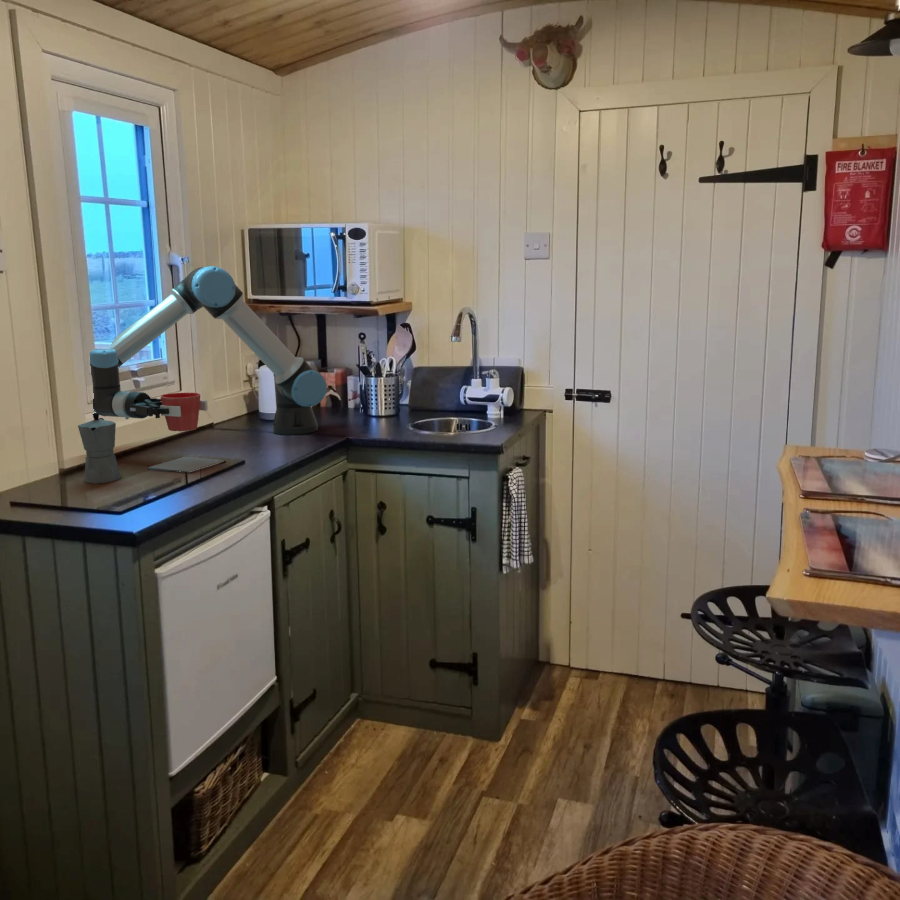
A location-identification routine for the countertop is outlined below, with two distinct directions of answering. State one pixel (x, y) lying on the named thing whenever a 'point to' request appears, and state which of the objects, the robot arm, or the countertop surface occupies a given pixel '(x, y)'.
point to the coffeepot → (99, 450)
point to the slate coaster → (184, 464)
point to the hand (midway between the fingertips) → (193, 408)
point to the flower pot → (182, 410)
